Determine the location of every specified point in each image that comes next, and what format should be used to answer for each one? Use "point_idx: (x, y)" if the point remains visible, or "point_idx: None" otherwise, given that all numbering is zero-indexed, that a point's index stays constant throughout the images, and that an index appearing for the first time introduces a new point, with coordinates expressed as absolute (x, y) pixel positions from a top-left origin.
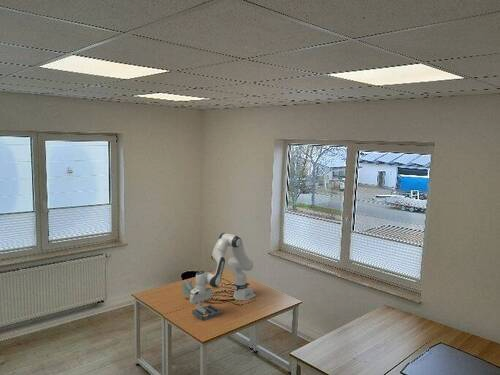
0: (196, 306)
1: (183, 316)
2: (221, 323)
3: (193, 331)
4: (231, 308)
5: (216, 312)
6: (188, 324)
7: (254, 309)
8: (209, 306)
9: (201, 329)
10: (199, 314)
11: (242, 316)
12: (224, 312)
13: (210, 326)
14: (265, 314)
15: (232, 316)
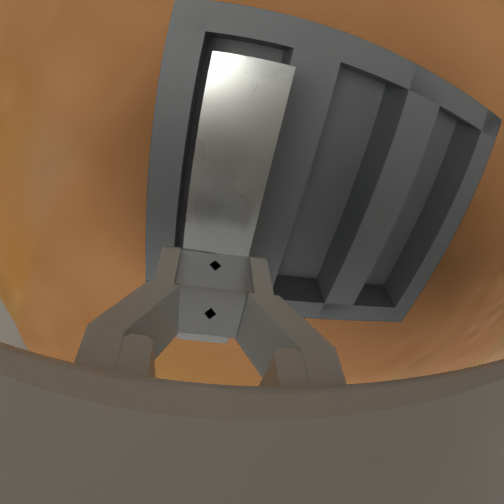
0: (211, 65)
1: (55, 5)
2: (253, 374)
3: (24, 323)
4: (500, 264)
5: (351, 317)
6: (11, 220)
7: (491, 344)
8: (468, 123)
9: (79, 343)
10: (155, 219)
11: (408, 372)
12: (435, 277)
13: (157, 359)
14: None
15: (390, 350)
